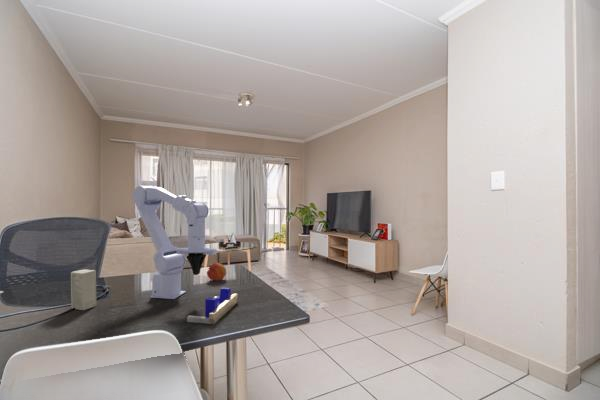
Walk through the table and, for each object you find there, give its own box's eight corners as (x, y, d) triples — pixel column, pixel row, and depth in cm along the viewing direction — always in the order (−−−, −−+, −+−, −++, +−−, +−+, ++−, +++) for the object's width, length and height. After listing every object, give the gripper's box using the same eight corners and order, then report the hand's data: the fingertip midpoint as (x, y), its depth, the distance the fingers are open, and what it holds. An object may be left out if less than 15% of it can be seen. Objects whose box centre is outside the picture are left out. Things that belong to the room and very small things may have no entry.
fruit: (209, 278, 129) (209, 260, 129) (227, 277, 130) (227, 260, 130) (205, 283, 121) (205, 264, 121) (224, 282, 122) (224, 264, 122)
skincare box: (96, 306, 94) (97, 270, 94) (82, 311, 90) (83, 273, 90) (84, 303, 96) (84, 268, 96) (69, 308, 92) (70, 271, 92)
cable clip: (218, 304, 97) (218, 287, 97) (230, 305, 96) (230, 287, 97) (200, 318, 85) (200, 299, 85) (214, 319, 85) (214, 300, 85)
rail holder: (187, 321, 82) (187, 311, 82) (215, 300, 100) (215, 292, 100) (214, 324, 81) (214, 313, 81) (237, 302, 99) (237, 293, 99)
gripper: (171, 237, 98) (171, 276, 97) (210, 238, 95) (210, 278, 95) (183, 235, 105) (182, 271, 104) (219, 235, 102) (219, 272, 102)
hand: (196, 274), depth 100 cm, fingers closed
